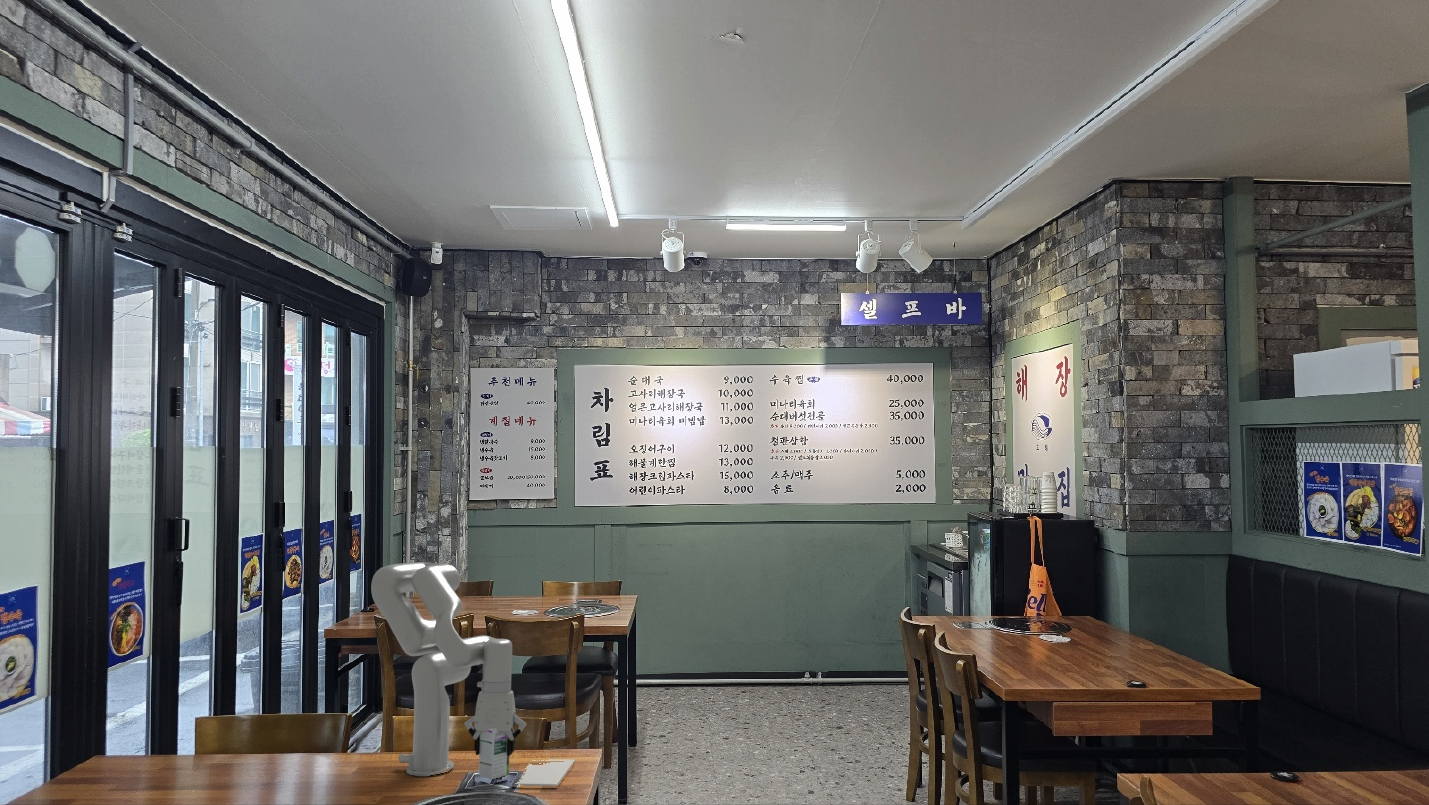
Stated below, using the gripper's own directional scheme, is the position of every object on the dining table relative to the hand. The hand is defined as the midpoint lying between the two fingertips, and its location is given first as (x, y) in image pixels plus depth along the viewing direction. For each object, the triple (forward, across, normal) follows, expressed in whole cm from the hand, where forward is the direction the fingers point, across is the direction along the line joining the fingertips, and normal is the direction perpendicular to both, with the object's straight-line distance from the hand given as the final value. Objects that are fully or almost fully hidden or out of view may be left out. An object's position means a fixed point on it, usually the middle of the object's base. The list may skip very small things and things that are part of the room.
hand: (494, 753), depth 236 cm
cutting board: (+7, +12, +6) cm, 15 cm away
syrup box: (+7, 0, 0) cm, 7 cm away
